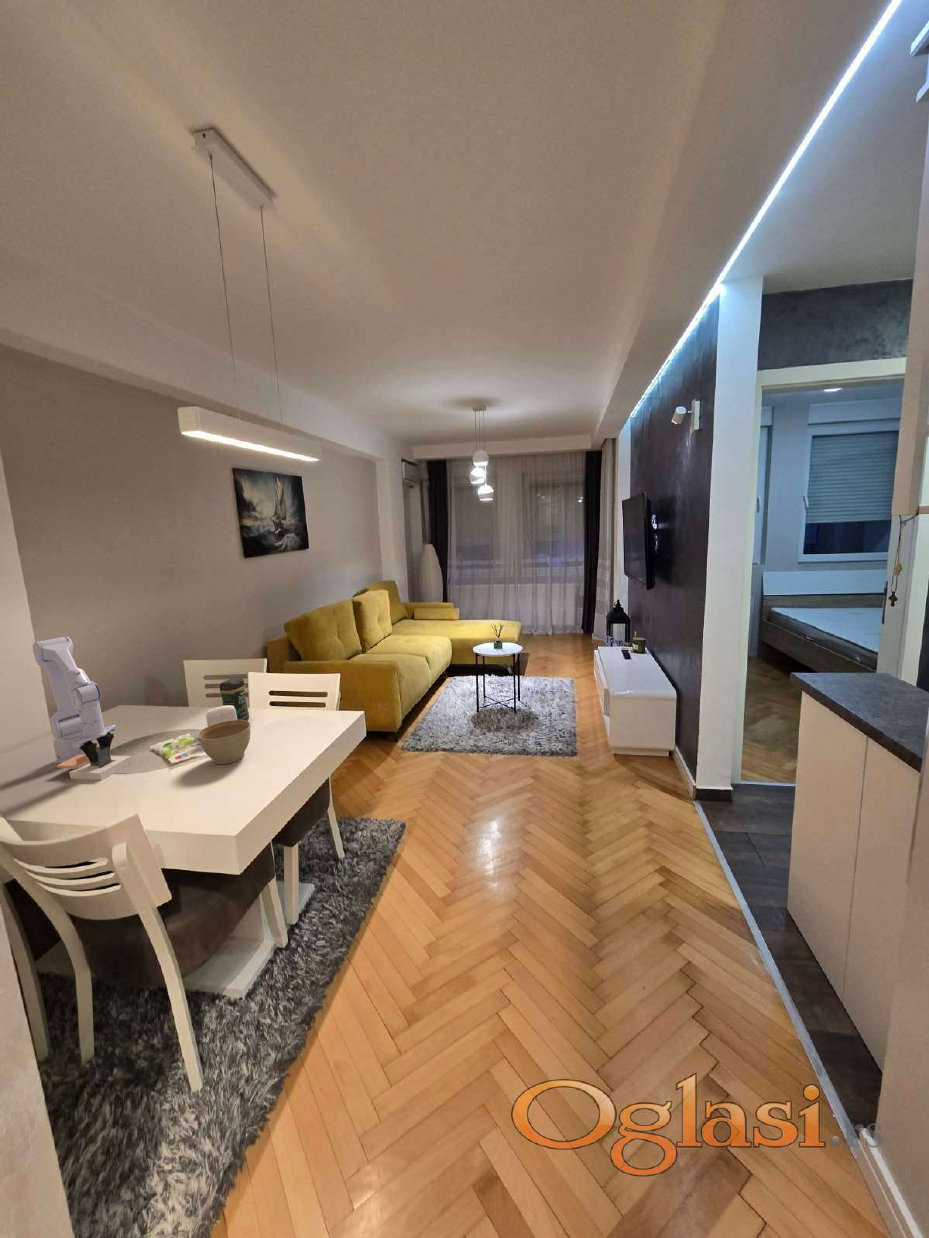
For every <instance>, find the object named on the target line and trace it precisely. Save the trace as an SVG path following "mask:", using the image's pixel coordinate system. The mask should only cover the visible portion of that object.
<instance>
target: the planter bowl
mask: <svg viewBox="0 0 929 1238" xmlns="http://www.w3.org/2000/svg"><path fill="white" fill-rule="evenodd" d="M197 738H198V740H199V744H200V747H201V749H202V750H203V752H204V753H205V754H206V755H207V756H208V757H209V759H210V758H211V760H213V763H214V764H216V765H229V764H232V763H234V762H237V761H239V760H241V759H242V758H243V757H244V756H245V752H246V750H247V748H248V746H249V744H250V743H249V742H250V739H251V723H250V721H249V720H247V721H245V720H229V721H224V722H220V723H216V724H213V725H211V726H208V725H207V726H206V727H204V728H202V729H201V730H200V731H199V732H198V733H197Z"/></svg>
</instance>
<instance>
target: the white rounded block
mask: <svg viewBox="0 0 929 1238" xmlns="http://www.w3.org/2000/svg"><path fill="white" fill-rule="evenodd" d="M205 716H206V723H207V727H208V726H211V725H213V724H216V723H220V722H224V721H229V720H237V715H236V710H235V708H234V706H231V705H226V706H223V705H220V706H217V707H214V708H210V709H209V710H207V712H206V715H205Z"/></svg>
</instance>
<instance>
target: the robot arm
mask: <svg viewBox="0 0 929 1238" xmlns="http://www.w3.org/2000/svg"><path fill="white" fill-rule="evenodd" d="M32 652H33V655H34V656H33V657H34V659H35V662H36V663H37V665H38V666H43V667H44V669H45V672H46V674H47V679H48V681H49V684H50V685H49V686H50V688H51V692H52V695H53V699H54V702H55V705H56V709H57V711H55V713H54V714H53V715H52V716H51V717H50V719H49V722H50V723H49V724H50V730H51V733H52V735H53V737H54V738H55V739H54V742H53V748H54V753H55V757H56V760H55V761H54V764H61V763H63V762H65V761H67V760H69V759H71V758H73V757H75V756H77V755H85V754H86V756H87V757H88V759H89V761H90V762H91V763H96V762H97V753H96V748H97V747H109V751H110V752H111V747H112V742H113V740H114V738H115V735H114V733H112V732H115V731H117V730H118V729H117V724H110V725H108V726H105V724H104V723H105V722H104V718H103V714H102V709H101V704H100V700H101V698H102V692H101V688H100V687H99V685H98V684H97V683H96V682H94V680H91V679H90V678H89V677H88V675H87V674H86V672H85V671H84V669H82V668H78V666H77V664H76V662H75V659H74V657H73V653H74V642H73V641H72V639H71V638H70V637H69V636H67V635H66V636H62V637H57V638H50V639H46V640H39V641H34V642H33V644H32ZM95 740H96V741H97V742H93V741H95ZM97 745H98V746H97Z"/></svg>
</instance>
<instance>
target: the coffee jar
mask: <svg viewBox="0 0 929 1238" xmlns="http://www.w3.org/2000/svg"><path fill="white" fill-rule="evenodd" d="M245 689H246V686H245V680H244V678H243V677H242V676H240V677H239V676H233V677H231V678H229V679H227V680H224V681H223V682H221V683H219V692H220V695H221V699H222V706H226V705H231V706H234V708H235V710H236V715H237V720H245V721H249V719H250V713H249V708H248V705H247V700H246V699H247V698H246V695H245V694H246V692H245Z"/></svg>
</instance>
